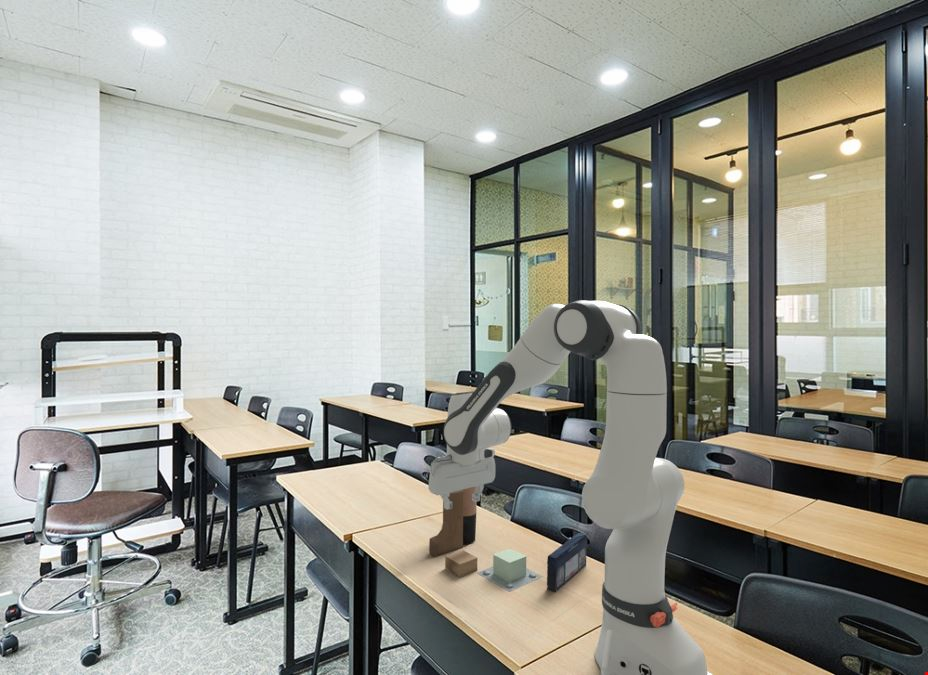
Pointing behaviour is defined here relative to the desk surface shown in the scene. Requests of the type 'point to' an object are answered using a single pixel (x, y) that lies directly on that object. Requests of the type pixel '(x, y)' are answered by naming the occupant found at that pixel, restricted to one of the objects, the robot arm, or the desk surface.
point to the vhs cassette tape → (566, 562)
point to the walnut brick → (461, 563)
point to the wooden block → (449, 528)
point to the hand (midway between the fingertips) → (462, 504)
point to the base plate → (512, 585)
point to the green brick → (509, 565)
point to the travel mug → (469, 516)
